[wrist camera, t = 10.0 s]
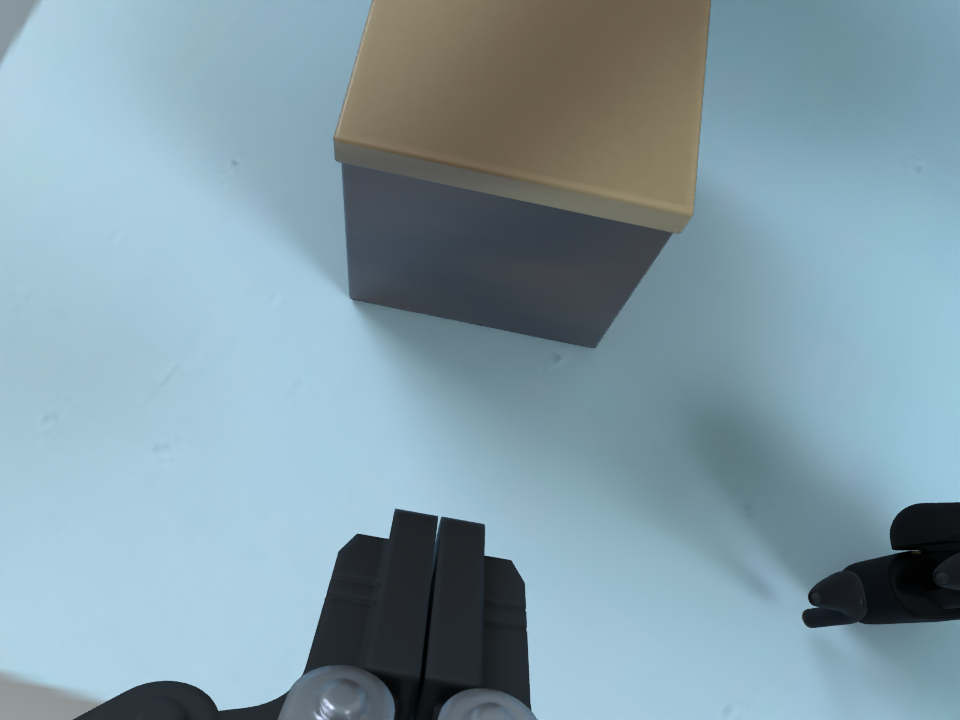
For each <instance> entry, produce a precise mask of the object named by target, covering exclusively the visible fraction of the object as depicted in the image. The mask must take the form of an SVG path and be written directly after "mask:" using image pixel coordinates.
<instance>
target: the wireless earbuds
mask: <svg viewBox="0 0 960 720" xmlns="http://www.w3.org/2000/svg"><path fill="white" fill-rule="evenodd" d="M890 541H891V546H892V549H893V550H919V551H906V552H901V553H897V554H893V555H888V556H884V557H880V558H875V559H871V560H867V561H862V562H858V563H855V564H852V565H849V566H848V567H846V568H845V569H844V570H843V571H841V572H837V573H834V574H832V575H830V576H829V577H827V578H825V579H823V580H822V581H820V582H819V583H818V584H816V585H815V586H814V587H813V588H812V589H811V590H810V592H809V594H808V599H809V602H810V603H811V604H812V605H813V606H817V607H819V608H812V609H807V610H805V611H804V612H803V614H802V619H803V622H804V623H805V625H806V626H807V627H809V628H816V627H826V626H835V625H845V624H852V623H856V622H861V623H864V624H896V623H920V622H938V621H949V620H960V502H955V503H919V504H914V505H911V506H909V507H907V508H905V509H903V510H902V511H901V512H899V513H898V515H897V516H896V517H895V519H894V520H893V522H892V525H891V529H890Z"/></svg>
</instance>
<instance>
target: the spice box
mask: <svg viewBox="0 0 960 720" xmlns="http://www.w3.org/2000/svg"><path fill="white" fill-rule="evenodd" d="M710 7H711V0H372V3H371V6H370V10H369V13H368V17H367V20H366V24H365V27H364V31H363V35H362V38H361V42H360V45H359V49H358V52H357V56H356V59H355V63H354V67H353V70H352V74H351V77H350V81H349V84H348V88H347V91H346V95H345V99H344V102H343V106H342V109H341V113H340V116H339V120H338V123H337V127H336V131H335V134H334V138H333V140H334V153H335V160H336V161H338V162H341V164H342V181H343V197H344V214H345V230H346V247H347V263H348V280H349V296H350V298H351V299H354V300H359V301H364V302H369V303H374V304H379V305H384V306H389V307H394V308H398V309H403V310H408V311H413V312H418V313H423V314H428V315H433V316H438V317H443V318H448V319H453V320H457V321H462V322H467V323H472V324H477V325H482V326H487V327H492V328H497V329H502V330H507V331H511V332H516V333H521V334H526V335H531V336H536V337H541V338H546V339H551V340H556V341H561V342H566V343H570V344H575V345H580V346H585V347H590V348H595V347H596V346H597V344H598V343H599V341H600V340H601V338H602V337H603V336H604V334H605V333H606V331H607V330H608V328H609V327H610V325H611V324H612V322H613V321H614V319H615V318H616V316H617V315H618V313H619V312H620V310H621V309H622V308H623V306H624V305H625V303H626V302H627V300H628V299H629V297H630V296H631V294H632V293H633V291H634V290H635V288H636V287H637V285H638V284H639V282H640V281H641V280H642V278H643V277H644V275H645V274H646V272H647V271H648V269H649V268H650V266H651V265H652V263H653V262H654V260H655V259H656V257H657V256H658V254H659V253H660V252H661V250H662V249H663V247H664V246H665V244H666V243H667V241H668V240H669V238H670V237H671V235H672V234H673V233H676V234H680V233H681V232H682V231H683V229H684V228H685V227H686V225H687V224H688V222H689V221H690V219H691V218H692V216H693V214H694V202H695V190H696V178H697V165H698V153H699V141H700V129H701V117H702V105H703V93H704V80H705V68H706V56H707V44H708V32H709V20H710Z"/></svg>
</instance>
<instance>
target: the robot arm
mask: <svg viewBox="0 0 960 720" xmlns="http://www.w3.org/2000/svg"><path fill="white" fill-rule="evenodd" d="M437 523H438V516H434V515H428V514H423V513H417V512H411V511H406V510H400V509H395V512H394V517H393V522H392V527H391V532H390V537H389V539H385V538H379V537H374V536H368V535H362V534H356V535H355V536H354V537H353V538H352V539H351V540H350V541H349V542H348V543H347V544H346V545H345V546H344V547H343V548H342V549H341V550H340V551H339V552H338V556H337V559H336V563H335V566H334V570H333V573H332V578H331V580H330V584H329V587H328V591H327V595H326V598H325V601H324V605H323V608H322V612H321V615H320V619H319V622H318V626H317V629H316V633H315V636H314V640H313V643H312V647H311V650H310V654H309V657H308V661H307V664H306V667H305V670H304V673H303V675H302V676H301V678H299V679H298V680H297V681H296V682H295V683H294V685H293V686H292V687H291V689H290V690H289V691H288V692H287V693H285V694H284V695H282V696H280V697H279V698H277V699H275V700H273V701H270V702H268V703H265V704H262V705H258V706H254V707H248V708H240V709H232V710H223V711H218V709H217V707H216V705H215V703H214V702H213V700H212V699H211V698H210V697H209V696H208V695H207V694H206V693H205V692H203V691H202V690H200V689H198V688H197V687H195V686H192V685H189V684H187V683H182V682H177V681H157V682H151V683H146V684H143V685H140V686H136V687H134V688H132V689H130V690H128V691H126V692H124V693H122V694H120V695H118V696H116V697H114V698H112V699H111V700H109V701H107V702H105V703H103V704H101V705H99V706H97V707H96V708H94V709H92V710H90V711H88V712H86V713H85V714H83V715H81V716H79V717H77V718H75V719H73V720H537V718H536V717H535V715H534V714H533V713H532V711H531V704H530V684H529V663H528V642H527V631H526V628H527V621H526V612H525V609H526V599H525V583H524V581H523V579H522V578H521V576H520V574H519V573H518V571H517V569H516V568H515V566H514V564H513V562H512V561H511V560H507V559H501V558H495V557H490V556H484V546H485V525H484V524H481V523H475V522H469V521H464V520H458V519H452V518H447V517H441V520H440V524H439V528H438V533H437V537H436V531H437ZM435 540H436V542H435Z"/></svg>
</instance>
